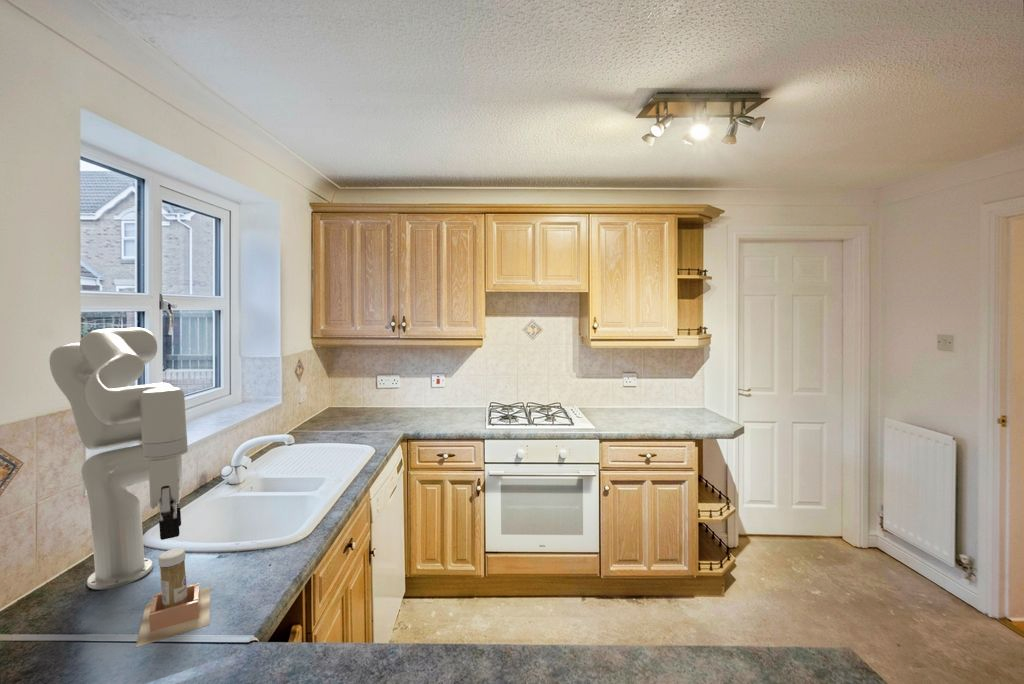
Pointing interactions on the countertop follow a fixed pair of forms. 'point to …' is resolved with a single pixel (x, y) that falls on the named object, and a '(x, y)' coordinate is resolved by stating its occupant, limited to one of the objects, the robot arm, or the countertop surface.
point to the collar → (175, 610)
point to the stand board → (180, 628)
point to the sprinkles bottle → (173, 578)
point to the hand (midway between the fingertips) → (171, 531)
